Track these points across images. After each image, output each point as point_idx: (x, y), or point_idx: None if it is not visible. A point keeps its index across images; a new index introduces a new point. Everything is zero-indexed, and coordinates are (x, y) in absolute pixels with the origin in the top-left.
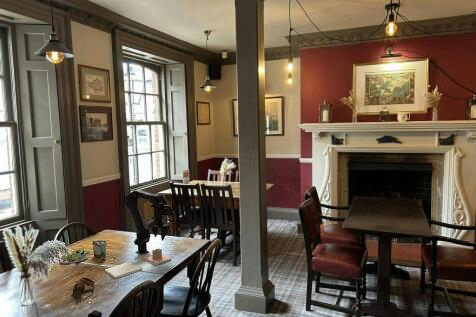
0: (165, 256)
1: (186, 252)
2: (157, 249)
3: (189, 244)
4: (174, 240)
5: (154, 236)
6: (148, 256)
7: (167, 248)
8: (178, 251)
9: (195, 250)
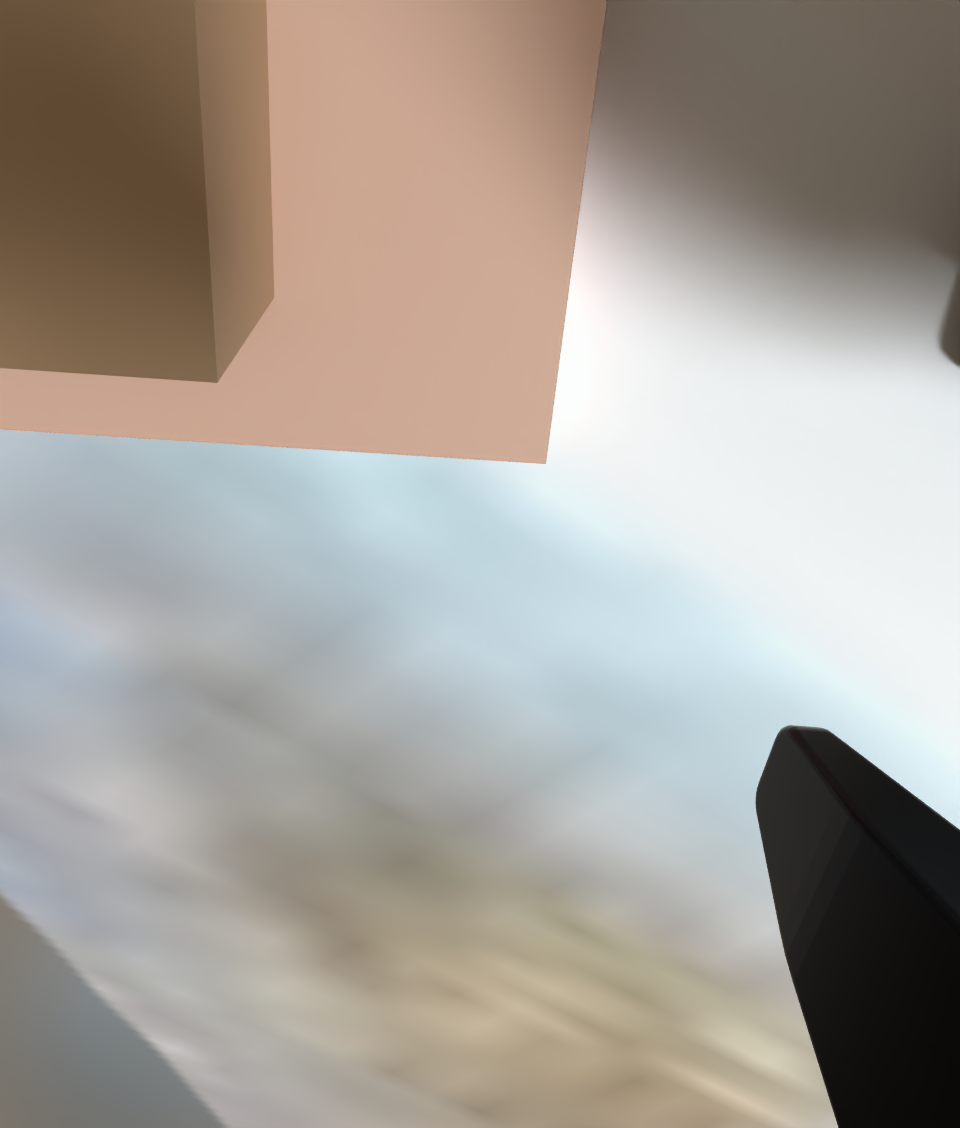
0: (108, 401)
1: (148, 879)
2: (135, 246)
3: (500, 1091)
4: None
5: (840, 743)
6: (557, 4)
7: (714, 786)
8: (339, 822)
9: (122, 1011)
